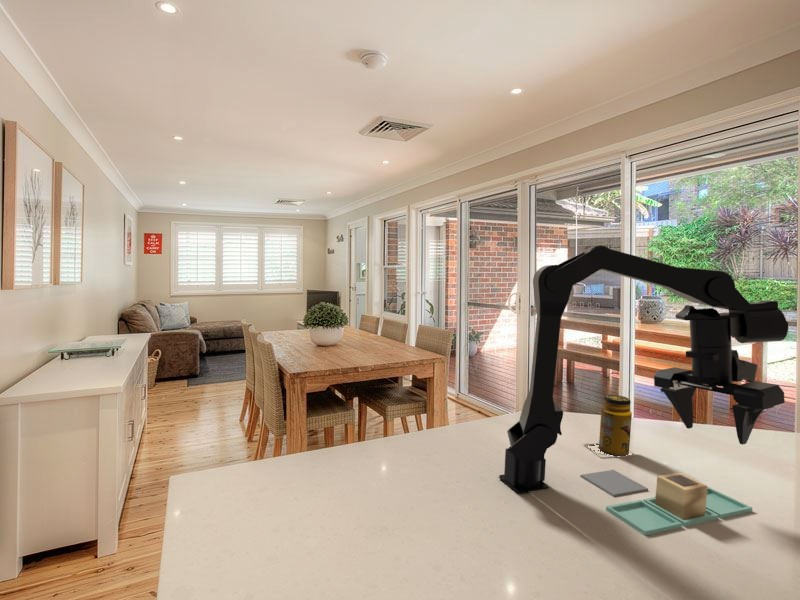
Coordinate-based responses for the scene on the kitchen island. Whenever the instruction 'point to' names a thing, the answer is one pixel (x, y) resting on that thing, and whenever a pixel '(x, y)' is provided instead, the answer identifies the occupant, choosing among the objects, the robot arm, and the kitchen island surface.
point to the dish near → (643, 517)
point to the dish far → (724, 504)
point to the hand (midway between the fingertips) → (714, 435)
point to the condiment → (614, 427)
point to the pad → (613, 483)
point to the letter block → (681, 495)
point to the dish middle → (708, 517)
